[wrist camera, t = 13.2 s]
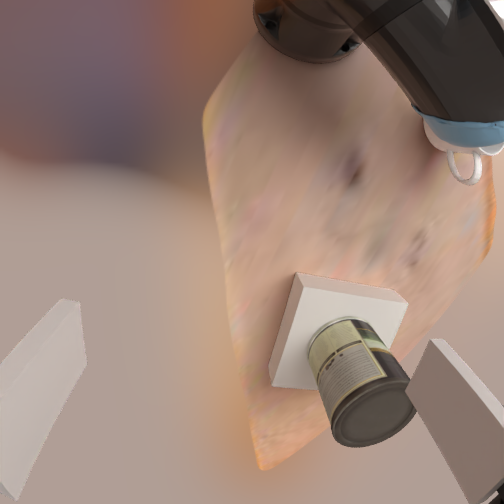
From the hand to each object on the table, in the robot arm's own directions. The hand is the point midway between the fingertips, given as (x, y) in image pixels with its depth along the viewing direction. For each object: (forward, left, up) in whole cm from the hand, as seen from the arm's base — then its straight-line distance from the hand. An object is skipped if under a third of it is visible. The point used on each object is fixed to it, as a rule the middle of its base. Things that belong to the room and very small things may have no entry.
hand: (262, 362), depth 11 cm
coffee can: (+15, +17, -26) cm, 35 cm away
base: (+15, +17, -31) cm, 38 cm away
